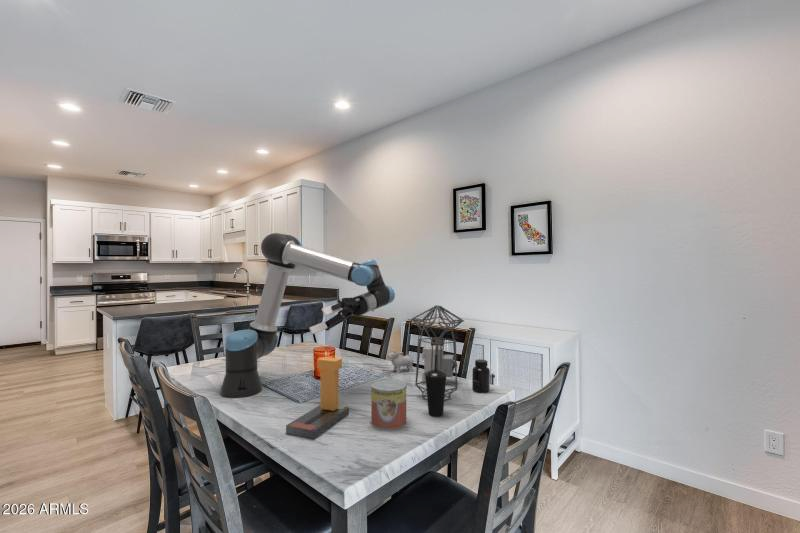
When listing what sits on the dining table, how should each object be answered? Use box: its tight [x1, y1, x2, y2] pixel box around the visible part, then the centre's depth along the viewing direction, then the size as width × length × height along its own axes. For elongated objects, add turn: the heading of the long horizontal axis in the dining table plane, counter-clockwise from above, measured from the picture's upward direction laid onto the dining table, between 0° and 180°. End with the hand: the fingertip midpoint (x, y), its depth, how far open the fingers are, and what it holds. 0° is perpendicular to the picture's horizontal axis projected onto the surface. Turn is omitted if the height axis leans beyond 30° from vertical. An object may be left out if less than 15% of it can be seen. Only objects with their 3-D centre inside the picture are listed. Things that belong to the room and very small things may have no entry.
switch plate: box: [285, 404, 350, 440], centre depth 121 cm, size 20×10×3 cm, turn 158°
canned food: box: [370, 379, 408, 431], centre depth 122 cm, size 11×11×12 cm
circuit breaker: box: [421, 344, 458, 386], centre depth 163 cm, size 8×14×15 cm, turn 78°
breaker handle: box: [316, 356, 343, 411], centre depth 126 cm, size 4×7×16 cm, turn 68°
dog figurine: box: [386, 349, 414, 374], centre depth 181 cm, size 5×13×11 cm, turn 114°
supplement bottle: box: [471, 359, 491, 394], centre depth 153 cm, size 7×7×12 cm
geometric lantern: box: [410, 304, 465, 402], centre depth 145 cm, size 16×16×35 cm
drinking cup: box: [424, 354, 448, 418], centre depth 129 cm, size 8×8×20 cm
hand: (316, 322), depth 136 cm, fingers open, 13 cm apart
